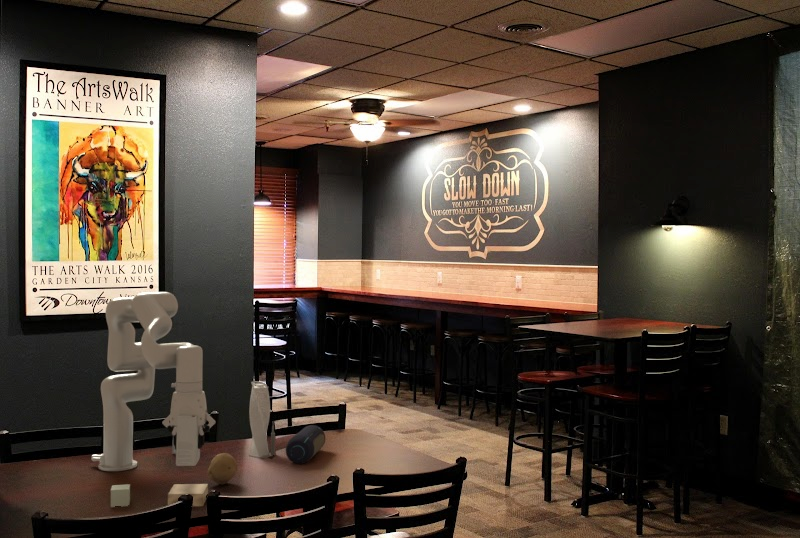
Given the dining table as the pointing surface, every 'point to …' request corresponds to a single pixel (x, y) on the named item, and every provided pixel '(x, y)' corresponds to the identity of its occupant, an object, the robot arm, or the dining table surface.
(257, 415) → the skyscraper
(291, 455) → the portable speaker
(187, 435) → the skincare box
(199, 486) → the maple slab
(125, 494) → the sage block
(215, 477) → the tan rounded lump
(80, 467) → the dining table surface
